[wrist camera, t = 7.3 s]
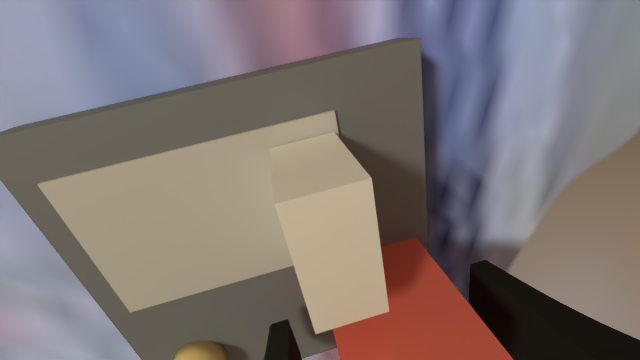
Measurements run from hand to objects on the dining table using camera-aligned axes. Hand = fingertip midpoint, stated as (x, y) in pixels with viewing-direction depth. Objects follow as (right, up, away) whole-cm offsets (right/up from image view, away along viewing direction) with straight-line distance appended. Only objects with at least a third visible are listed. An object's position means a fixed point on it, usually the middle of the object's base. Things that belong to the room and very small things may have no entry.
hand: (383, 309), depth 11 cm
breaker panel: (-5, +3, +1) cm, 5 cm away
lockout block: (0, 0, +1) cm, 1 cm away
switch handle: (-3, +4, -2) cm, 5 cm away
